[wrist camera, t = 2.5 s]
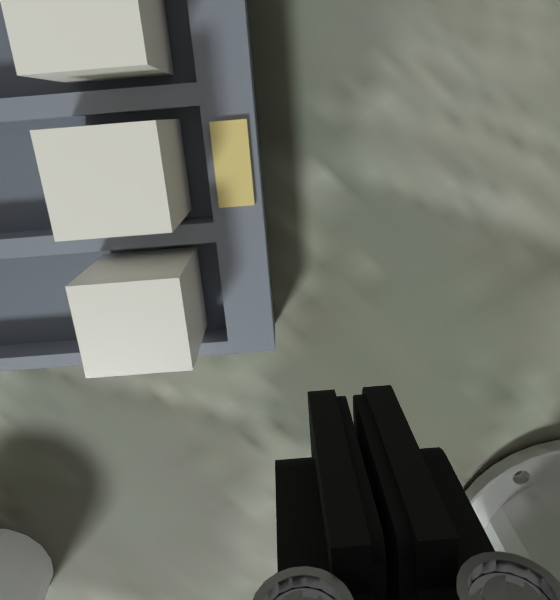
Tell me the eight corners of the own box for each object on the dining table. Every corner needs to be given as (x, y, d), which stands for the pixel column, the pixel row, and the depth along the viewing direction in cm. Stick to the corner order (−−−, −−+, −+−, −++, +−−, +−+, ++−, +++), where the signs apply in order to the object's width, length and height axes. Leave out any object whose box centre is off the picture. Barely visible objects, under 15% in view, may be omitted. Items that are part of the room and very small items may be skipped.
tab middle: (179, 118, 21) (155, 120, 16) (191, 209, 22) (172, 232, 18) (79, 127, 21) (29, 130, 16) (97, 217, 22) (54, 241, 18)
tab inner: (196, 246, 22) (179, 277, 18) (207, 324, 24) (193, 370, 19) (104, 253, 22) (65, 286, 18) (119, 330, 24) (85, 378, 19)
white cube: (159, -33, 19) (126, -76, 15) (174, 74, 20) (147, 64, 16) (49, -24, 19) (-15, -63, 15) (70, 83, 20) (16, 75, 16)
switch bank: (241, -57, 20) (236, -88, 17) (274, 324, 26) (275, 352, 23) (-266, -14, 20) (-359, -36, 17) (-127, 354, 26) (-180, 386, 23)
